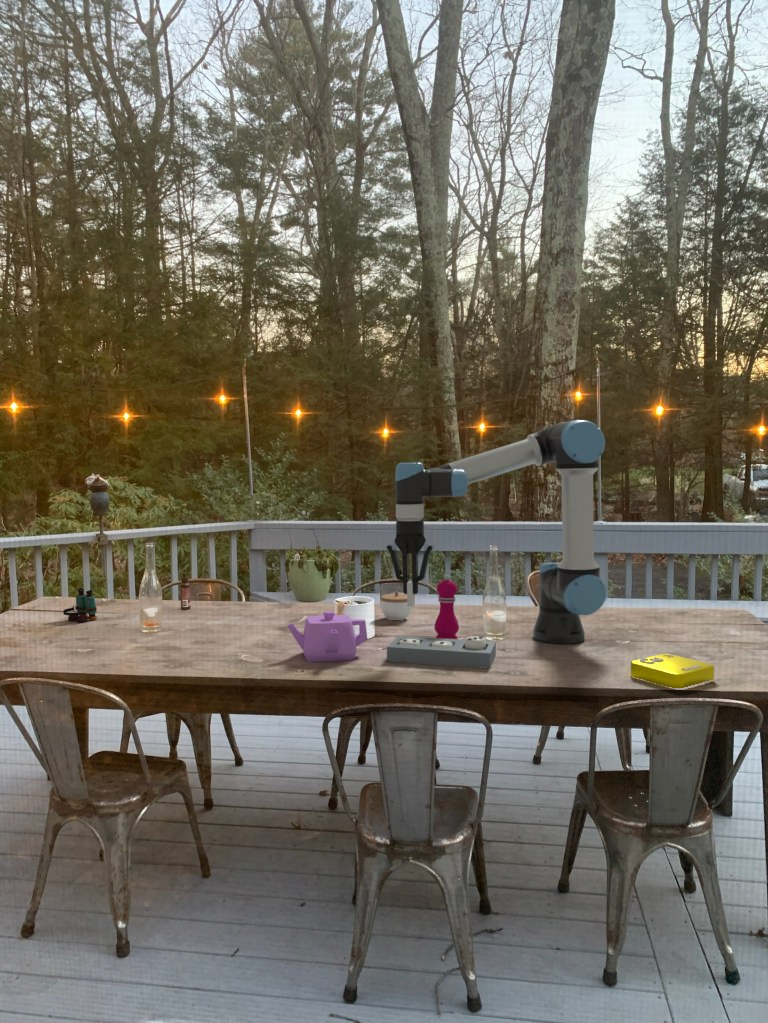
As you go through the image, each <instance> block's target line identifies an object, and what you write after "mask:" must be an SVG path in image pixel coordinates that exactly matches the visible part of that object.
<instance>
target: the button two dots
mask: <svg viewBox="0 0 768 1023" xmlns="http://www.w3.org/2000/svg"><path fill="white" fill-rule="evenodd" d="M400 645H415V646H419V645H420V641H419V640H417V639H402V640H400Z"/></svg>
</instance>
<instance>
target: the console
mask: <svg viewBox="0 0 768 1023" xmlns="http://www.w3.org/2000/svg"><path fill="white" fill-rule="evenodd" d="M402 639H417V640H419V641H420V645H419V646H415V645H400V640H402ZM435 641H448V642H451V643H452V644H453V647H452V648H448V647H432V642H435ZM496 650H497V642H496V641H492V640H491V641H490V640H486V650H480V649H465V639H460V638H457V639H444V638H436V637H428V636H427V637H424V636H410V635H409V636H406V635H405V636H404V635H397V636H396V638H394V639H393V641H391V642H390V643H389V644H388V645H387V646H386V662H387V661H390V662H389V663H399V662H405V663H404V664H414V663H416V664H417V665H429V664H430V665H431V666H433V665H434V666H444V665H445V667H446V665H447V666H448V667H458V666H460V668H461V666H462V668H463V667H464V668H473V667H482V668H481V669H488V668H490V669H491V668H492V666H491V665H493V663H494V662H495V661H494V660H495V659H494V658H496V655H497V651H496ZM392 661H393V662H392ZM484 667H485V668H484Z"/></svg>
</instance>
